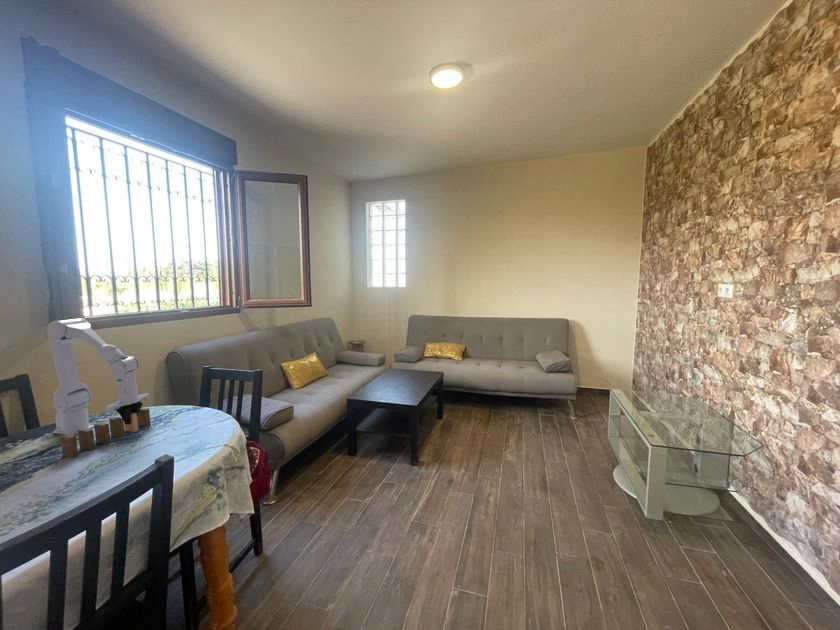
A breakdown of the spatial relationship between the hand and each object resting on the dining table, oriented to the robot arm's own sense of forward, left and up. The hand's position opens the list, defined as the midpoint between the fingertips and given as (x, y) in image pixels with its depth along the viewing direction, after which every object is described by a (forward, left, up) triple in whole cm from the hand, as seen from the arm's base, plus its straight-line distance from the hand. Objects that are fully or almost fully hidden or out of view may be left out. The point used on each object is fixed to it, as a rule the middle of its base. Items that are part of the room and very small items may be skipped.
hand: (130, 422), depth 131 cm
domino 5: (0, +5, -3) cm, 6 cm away
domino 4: (0, -5, -3) cm, 6 cm away
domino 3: (0, -10, -3) cm, 10 cm away
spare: (0, 0, -3) cm, 3 cm away
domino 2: (0, -14, -3) cm, 15 cm away
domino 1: (0, -19, -3) cm, 19 cm away
